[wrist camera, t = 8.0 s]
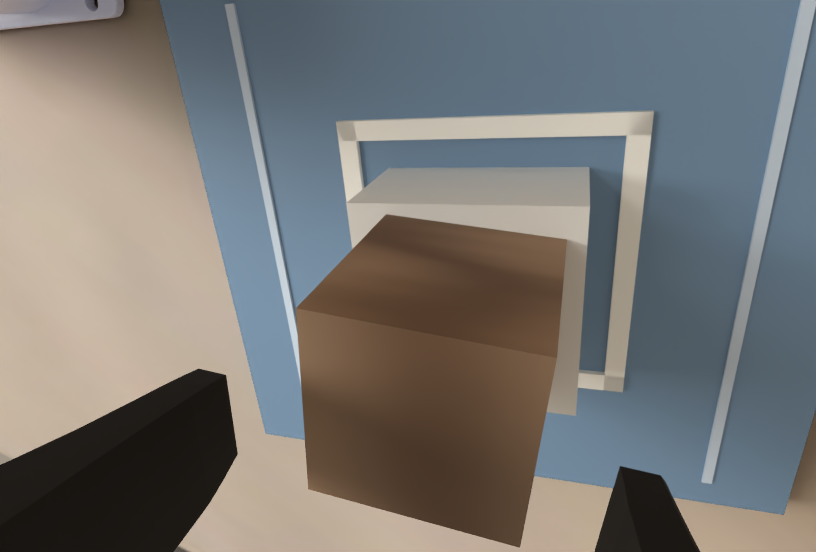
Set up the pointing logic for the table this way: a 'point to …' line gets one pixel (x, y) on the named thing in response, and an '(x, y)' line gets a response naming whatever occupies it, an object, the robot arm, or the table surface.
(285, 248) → the blueprint board
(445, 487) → the walnut block
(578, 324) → the base block
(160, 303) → the table surface
